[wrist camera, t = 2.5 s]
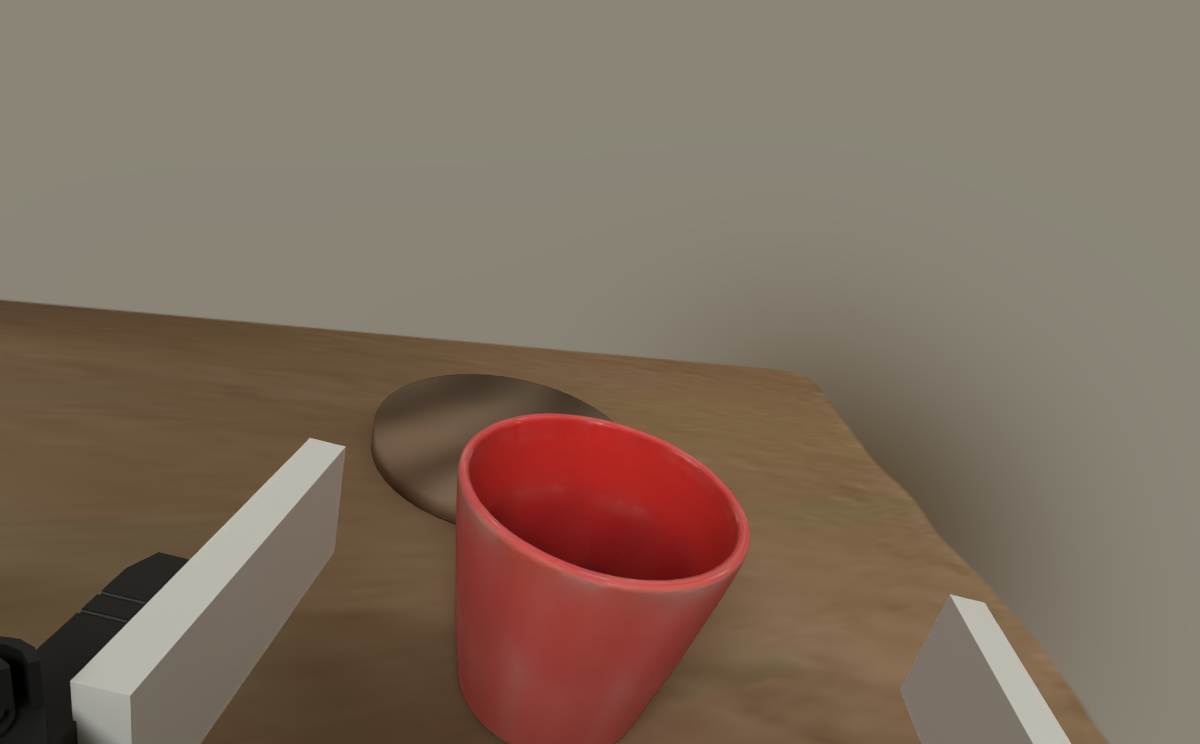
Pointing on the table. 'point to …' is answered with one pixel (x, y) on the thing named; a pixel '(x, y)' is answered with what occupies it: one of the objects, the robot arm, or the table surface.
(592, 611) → the flower pot
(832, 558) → the table surface
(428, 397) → the brown plate
